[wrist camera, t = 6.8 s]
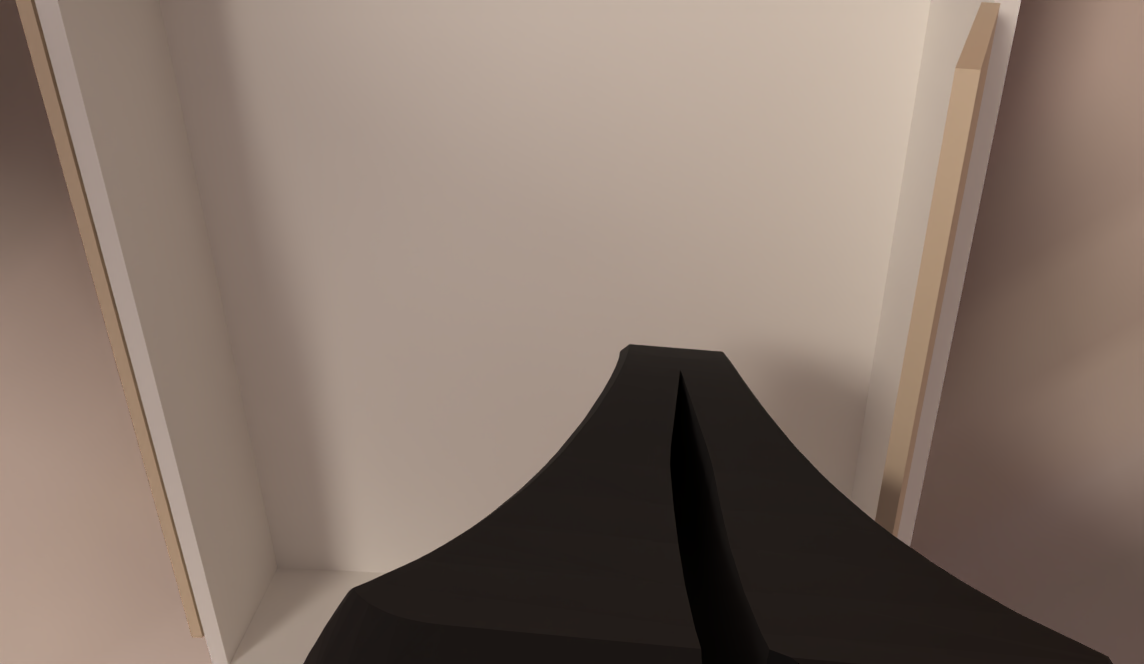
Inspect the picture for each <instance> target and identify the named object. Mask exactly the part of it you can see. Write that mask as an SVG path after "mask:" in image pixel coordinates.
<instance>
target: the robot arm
mask: <svg viewBox="0 0 1144 664" xmlns="http://www.w3.org/2000/svg"><path fill="white" fill-rule="evenodd" d="M303 664H1113V663H1112V662H1111V660H1110V659H1109V657H1108V656H1106V655H1103V654H1101V653H1099V652H1097V651H1095V650H1093V649H1091V648H1089V647H1087V646H1085V645H1083V644H1081V643H1078V642H1076V641H1074V640H1072V639H1070V638H1068V637H1066V636H1064V635H1062V634H1060V633H1058V632H1056V631H1053V630H1051V629H1049V628H1047V627H1045V626H1043V625H1041V624H1039V623H1037V622H1035V621H1033V620H1030V619H1028V618H1026V617H1024V616H1022V615H1020V614H1018V613H1016V612H1015V611H1013V610H1011V609H1009V608H1007V607H1005V606H1004V605H1002V604H1000V603H999V602H997V601H995V600H993V599H992V598H990V597H988V596H986V595H985V594H983V593H981V592H979V591H978V590H976V589H974V588H972V587H971V586H969V585H967V584H965V583H964V582H962V581H960V580H959V579H957V578H956V577H954V576H953V575H951V574H949V573H948V572H946V571H945V570H943V569H941V568H940V567H938V566H937V565H935V564H934V563H932V562H931V561H929V560H928V559H926V558H925V557H923V556H922V555H921V554H919V553H918V552H916V551H915V550H914V549H912V548H911V547H909V546H908V545H906V544H905V543H904V542H902V541H901V540H899V539H898V538H896V537H895V536H894V535H892V534H891V533H890V532H888V531H887V530H886V529H885V528H883V527H882V526H881V525H879V524H878V523H877V522H875V521H874V520H873V519H872V518H870V517H869V516H868V515H867V514H866V513H865V512H863V511H862V510H861V509H860V508H859V507H858V506H856V505H855V504H854V503H853V502H852V501H851V500H849V499H848V498H847V497H846V496H845V495H844V494H842V493H841V492H840V491H839V490H838V489H837V488H836V487H835V486H834V485H833V484H832V483H830V482H829V481H828V480H827V479H826V478H825V477H824V476H823V475H822V474H821V473H820V472H819V471H818V470H817V469H816V468H815V467H814V466H813V465H812V463H811V462H810V461H809V460H808V459H807V458H806V457H805V456H804V455H803V454H802V453H801V452H800V451H799V450H798V449H797V448H796V447H795V445H794V444H793V443H792V442H791V441H790V440H789V438H788V437H787V436H786V435H785V433H784V432H783V431H782V430H781V429H780V427H779V426H778V425H777V424H776V422H775V421H774V420H773V419H772V418H771V416H770V415H769V414H768V413H767V411H766V410H765V409H764V407H763V406H762V405H761V403H760V402H759V401H758V399H757V398H756V397H755V395H754V394H753V393H752V391H751V390H750V388H749V387H748V386H747V384H746V383H745V381H744V380H743V379H742V377H741V376H740V374H739V373H738V371H737V370H736V368H735V367H734V365H733V364H732V363H731V361H730V360H729V359H728V357H727V356H726V355H725V354H724V352H721V351H709V350H697V349H684V348H672V347H660V346H647V345H635V344H629V345H628V346H626V347H625V348H624V349H622V350H621V351H620V355H619V359H618V362H617V364H616V367H615V369H614V371H613V373H612V375H611V377H610V379H609V381H608V382H607V384H606V386H605V388H604V390H603V391H602V393H601V394H600V396H599V397H598V399H597V400H596V402H595V403H594V405H593V406H592V408H591V409H590V411H589V412H588V414H587V415H586V417H585V418H584V420H583V421H582V422H581V424H580V425H579V426H578V427H577V428H576V430H575V431H574V432H573V433H572V435H571V436H570V437H569V438H568V440H567V441H566V442H565V443H564V444H563V446H562V447H561V448H560V449H559V451H558V452H557V453H556V454H555V455H554V456H553V457H552V458H551V459H550V460H549V461H548V463H547V464H546V465H545V466H544V467H543V468H542V469H541V470H540V471H539V472H538V473H537V474H536V475H535V476H534V477H533V478H532V479H530V480H529V481H528V482H527V483H526V484H525V485H524V486H523V487H522V488H521V489H520V490H519V491H517V492H516V493H515V494H514V495H513V496H511V497H510V498H509V499H508V500H507V501H505V502H504V503H503V504H502V505H500V506H499V507H498V508H497V509H496V510H494V511H493V512H492V513H491V514H489V515H488V516H487V517H485V518H484V519H483V520H481V521H480V522H478V523H477V524H476V525H474V526H473V527H471V528H470V529H468V530H467V531H465V532H463V533H462V534H460V535H459V536H457V537H455V538H454V539H452V540H451V541H449V542H447V543H446V544H444V545H442V546H441V547H439V548H437V549H435V550H434V551H432V552H430V553H428V554H426V555H424V556H422V557H420V558H419V559H417V560H415V561H412V562H410V563H408V564H406V565H404V566H401V567H399V568H397V569H395V570H393V571H390V572H388V573H386V574H384V575H382V576H379V577H377V578H375V579H373V580H371V581H368V582H366V583H363V584H361V585H358V586H356V587H353V588H352V589H351V590H349V592H348V593H347V594H346V596H345V597H344V599H343V600H342V601H341V603H340V604H339V606H338V607H337V609H336V610H335V612H334V613H333V615H332V616H331V618H330V619H329V621H328V623H327V624H326V626H325V627H324V629H323V631H322V632H321V634H320V636H319V637H318V639H317V641H316V643H315V644H314V646H313V647H312V649H311V651H310V652H309V654H308V656H307V658H306V659H305V661H304V663H303Z"/></svg>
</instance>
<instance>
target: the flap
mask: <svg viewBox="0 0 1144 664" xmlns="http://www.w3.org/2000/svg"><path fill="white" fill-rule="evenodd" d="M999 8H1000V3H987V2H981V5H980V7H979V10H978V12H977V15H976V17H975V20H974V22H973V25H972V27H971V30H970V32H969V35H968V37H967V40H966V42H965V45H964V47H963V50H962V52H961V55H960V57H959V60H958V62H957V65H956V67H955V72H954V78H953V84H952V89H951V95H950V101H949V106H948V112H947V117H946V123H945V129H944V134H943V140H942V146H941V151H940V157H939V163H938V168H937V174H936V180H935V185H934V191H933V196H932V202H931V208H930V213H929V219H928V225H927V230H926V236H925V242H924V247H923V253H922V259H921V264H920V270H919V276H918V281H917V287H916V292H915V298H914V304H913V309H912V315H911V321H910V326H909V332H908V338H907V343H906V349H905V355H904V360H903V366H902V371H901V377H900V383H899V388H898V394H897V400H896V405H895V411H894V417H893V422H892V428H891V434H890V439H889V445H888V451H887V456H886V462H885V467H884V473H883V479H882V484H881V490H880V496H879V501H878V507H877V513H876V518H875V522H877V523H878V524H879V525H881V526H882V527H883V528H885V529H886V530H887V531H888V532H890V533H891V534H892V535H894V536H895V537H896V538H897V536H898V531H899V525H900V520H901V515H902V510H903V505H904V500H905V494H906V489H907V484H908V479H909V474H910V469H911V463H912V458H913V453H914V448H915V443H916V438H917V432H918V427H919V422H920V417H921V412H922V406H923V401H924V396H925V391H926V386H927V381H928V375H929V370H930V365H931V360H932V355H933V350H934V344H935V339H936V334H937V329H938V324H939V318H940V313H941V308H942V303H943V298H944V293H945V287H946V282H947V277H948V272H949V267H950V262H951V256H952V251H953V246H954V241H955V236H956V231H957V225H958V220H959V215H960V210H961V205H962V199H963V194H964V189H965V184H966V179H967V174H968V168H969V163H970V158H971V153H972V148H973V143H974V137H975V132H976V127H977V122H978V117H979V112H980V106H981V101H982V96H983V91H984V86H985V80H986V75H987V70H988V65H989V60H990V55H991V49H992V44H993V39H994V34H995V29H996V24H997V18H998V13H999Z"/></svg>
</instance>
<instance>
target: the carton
mask: <svg viewBox="0 0 1144 664" xmlns="http://www.w3.org/2000/svg"><path fill="white" fill-rule="evenodd" d="M15 1H16V4H17V8H18V11H19V15H20V19H21V22H22V26H23V30H24V33H25V37H26V40H27V44H28V48H29V51H30V55H31V58H32V62H33V66H34V69H35V73H36V76H37V80H38V84H39V87H40V91H41V95H42V98H43V102H44V105H45V109H46V113H47V116H48V120H49V123H50V127H51V131H52V134H53V138H54V141H55V145H56V149H57V152H58V156H59V159H60V163H61V167H62V170H63V174H64V178H65V181H66V185H67V188H68V192H69V196H70V199H71V203H72V206H73V210H74V214H75V217H76V221H77V224H78V228H79V232H80V235H81V239H82V243H83V246H84V250H85V253H86V257H87V261H88V264H89V268H90V271H91V275H92V279H93V282H94V286H95V289H96V293H97V297H98V300H99V304H100V307H101V311H102V315H103V318H104V322H105V326H106V329H107V333H108V336H109V340H110V344H111V347H112V351H113V354H114V358H115V362H116V365H117V369H118V372H119V376H120V380H121V383H122V387H123V391H124V394H125V398H126V401H127V405H128V409H129V412H130V416H131V419H132V423H133V427H134V430H135V434H136V437H137V441H138V445H139V448H140V452H141V455H142V459H143V463H144V466H145V470H146V474H147V477H148V481H149V484H150V488H151V492H152V495H153V499H154V502H155V506H156V510H157V513H158V517H159V520H160V524H161V528H162V531H163V535H164V539H165V542H166V546H167V549H168V553H169V557H170V560H171V564H172V567H173V571H174V575H175V578H176V582H177V585H178V589H179V593H180V596H181V600H182V603H183V607H184V611H185V614H186V618H187V622H188V625H189V629H190V632H191V636H192V637H198V638H203V636H204V635H205V639H206V642H207V646H208V650H209V654H210V657H211V661H212V664H303V663H304V661H305V659H306V658H307V656H308V654H309V652H310V651H311V649H312V647H313V646H314V644H315V643H316V641H317V639H318V637H319V636H320V634H321V632H322V631H323V629H324V627H325V626H326V624H327V623H328V621H329V619H330V618H331V616H332V615H333V613H334V612H335V610H336V609H337V607H338V606H339V604H340V603H341V601H342V600H343V599H344V597H345V596H346V594H347V593H348V592H349V590H351V589H352V588H353V587H356V586H358V585H361V584H363V583H366V582H368V581H371V580H373V579H375V578H377V577H379V576H382V575H384V574H386V573H388V572H390V571H393V570H395V569H397V568H399V567H401V566H404V565H406V564H408V563H410V562H412V561H415V560H417V559H419V558H420V557H422V556H424V555H426V554H428V553H430V552H432V551H434V550H435V549H437V548H439V547H441V546H442V545H444V544H446V543H447V542H449V541H451V540H452V539H454V538H455V537H457V536H459V535H460V534H462V533H463V532H465V531H467V530H468V529H470V528H471V527H473V526H474V525H476V524H477V523H478V522H480V521H481V520H483V519H484V518H485V517H487V516H488V515H489V514H491V513H492V512H493V511H494V510H496V509H497V508H498V507H499V506H500V505H502V504H503V503H504V502H505V501H507V500H508V499H509V498H510V497H511V496H513V495H514V494H515V493H516V492H517V491H519V490H520V489H521V488H522V487H523V486H524V485H525V484H526V483H527V482H528V481H529V480H530V479H532V478H533V477H534V476H535V475H536V474H537V473H538V472H539V471H540V470H541V469H542V468H543V467H544V466H545V465H546V464H547V463H548V461H549V460H550V459H551V458H552V457H553V456H554V455H555V454H556V453H557V452H558V451H559V449H560V448H561V447H562V446H563V444H564V443H565V442H566V441H567V440H568V438H569V437H570V436H571V435H572V433H573V432H574V431H575V430H576V428H577V427H578V426H579V425H580V424H581V422H582V421H583V420H584V418H585V417H586V415H587V414H588V412H589V411H590V409H591V408H592V406H593V405H594V403H595V402H596V400H597V399H598V397H599V396H600V394H601V393H602V391H603V390H604V388H605V386H606V384H607V382H608V381H609V379H610V377H611V375H612V373H613V371H614V369H615V367H616V364H617V362H618V359H619V355H620V351H621V350H622V349H624V348H625V347H626V346H628V345H629V344H635V345H647V346H660V347H672V348H684V349H697V350H709V351H721V352H724V354H725V355H726V356H727V357H728V359H729V360H730V361H731V363H732V364H733V365H734V367H735V368H736V370H737V371H738V373H739V374H740V376H741V377H742V379H743V380H744V381H745V383H746V384H747V386H748V387H749V388H750V390H751V391H752V393H753V394H754V395H755V397H756V398H757V399H758V401H759V402H760V403H761V405H762V406H763V407H764V409H765V410H766V411H767V413H768V414H769V415H770V416H771V418H772V419H773V420H774V421H775V422H776V424H777V425H778V426H779V427H780V429H781V430H782V431H783V432H784V433H785V435H786V436H787V437H788V438H789V440H790V441H791V442H792V443H793V444H794V445H795V447H796V448H797V449H798V450H799V451H800V452H801V453H802V454H803V455H804V456H805V457H806V458H807V459H808V460H809V461H810V462H811V463H812V465H813V466H814V467H815V468H816V469H817V470H818V471H819V472H820V473H821V474H822V475H823V476H824V477H825V478H826V479H827V480H828V481H829V482H830V483H832V484H833V485H834V486H835V487H836V488H837V489H838V490H839V491H840V492H841V493H842V494H844V495H845V496H846V497H847V498H848V499H849V500H851V501H852V502H853V503H854V504H855V505H856V506H858V507H859V508H860V509H861V510H862V511H863V512H865V513H866V514H867V515H868V516H869V517H870V518H872V519H873V520H874V521H875V518H876V513H877V507H878V501H879V496H880V490H881V484H882V479H883V473H884V467H885V462H886V456H887V451H888V445H889V439H890V434H891V428H892V422H893V417H894V411H895V405H896V400H897V394H898V388H899V383H900V377H901V371H902V366H903V360H904V355H905V349H906V343H907V338H908V332H909V326H910V321H911V315H912V309H913V304H914V298H915V292H916V287H917V281H918V276H919V270H920V264H921V259H922V253H923V247H924V242H925V236H926V230H927V225H928V219H929V213H930V208H931V202H932V196H933V191H934V185H935V180H936V174H937V168H938V163H939V157H940V151H941V146H942V140H943V134H944V129H945V123H946V117H947V112H948V106H949V101H950V95H951V89H952V84H953V78H954V72H955V67H956V65H957V62H958V60H959V57H960V55H961V52H962V50H963V47H964V45H965V42H966V40H967V37H968V35H969V32H970V30H971V27H972V25H973V22H974V20H975V17H976V15H977V12H978V10H979V7H980V5H981V2H987V3H1000V8H999V13H998V18H997V24H996V29H995V34H994V39H993V44H992V49H991V55H990V60H989V65H988V70H987V75H986V80H985V86H984V91H983V96H982V101H981V106H980V112H979V117H978V122H977V127H976V132H975V137H974V143H973V148H972V153H971V158H970V163H969V168H968V174H967V179H966V184H965V189H964V194H963V199H962V205H961V210H960V215H959V220H958V225H957V231H956V236H955V241H954V246H953V251H952V256H951V262H950V267H949V272H948V277H947V282H946V287H945V293H944V298H943V303H942V308H941V313H940V318H939V324H938V329H937V334H936V339H935V344H934V350H933V355H932V360H931V365H930V370H929V375H928V381H927V386H926V391H925V396H924V401H923V406H922V412H921V417H920V422H919V427H918V432H917V438H916V443H915V448H914V453H913V458H912V463H911V469H910V474H909V479H908V484H907V489H906V494H905V500H904V505H903V510H902V515H901V520H900V525H899V531H898V536H897V538H898V539H899V540H901V541H902V542H904V543H905V544H906V545H908V546H909V547H910V545H911V541H912V536H913V531H914V526H915V521H916V516H917V511H918V506H919V501H920V496H921V491H922V486H923V481H924V476H925V472H926V467H927V462H928V457H929V452H930V447H931V442H932V437H933V432H934V427H935V422H936V417H937V412H938V407H939V403H940V398H941V393H942V388H943V383H944V378H945V373H946V368H947V363H948V358H949V353H950V348H951V343H952V338H953V334H954V329H955V324H956V319H957V314H958V309H959V304H960V299H961V294H962V289H963V284H964V279H965V274H966V269H967V264H968V260H969V255H970V250H971V245H972V240H973V235H974V230H975V225H976V220H977V215H978V210H979V205H980V200H981V195H982V191H983V186H984V181H985V176H986V171H987V166H988V161H989V156H990V151H991V146H992V141H993V136H994V131H995V126H996V122H997V117H998V112H999V107H1000V102H1001V97H1002V92H1003V87H1004V82H1005V77H1006V72H1007V67H1008V62H1009V57H1010V53H1011V48H1012V43H1013V38H1014V33H1015V28H1016V23H1017V18H1018V13H1019V8H1020V3H1021V0H15Z"/></svg>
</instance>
